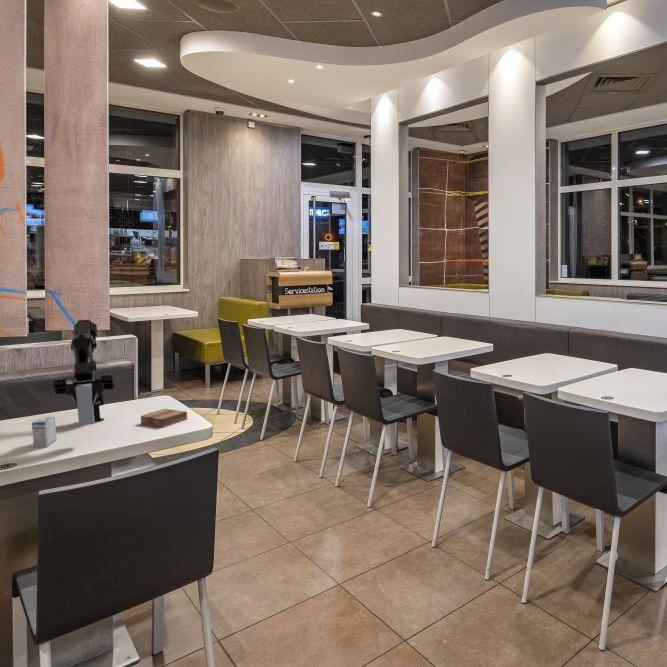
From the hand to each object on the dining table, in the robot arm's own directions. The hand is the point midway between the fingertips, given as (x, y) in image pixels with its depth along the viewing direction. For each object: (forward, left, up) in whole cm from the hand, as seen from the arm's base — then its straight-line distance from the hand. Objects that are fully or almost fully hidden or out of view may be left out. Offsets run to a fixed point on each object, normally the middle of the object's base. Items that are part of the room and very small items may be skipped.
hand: (84, 404), depth 184 cm
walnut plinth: (-2, -32, -14) cm, 35 cm away
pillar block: (+1, -1, -7) cm, 7 cm away
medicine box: (+14, +6, -14) cm, 21 cm away
